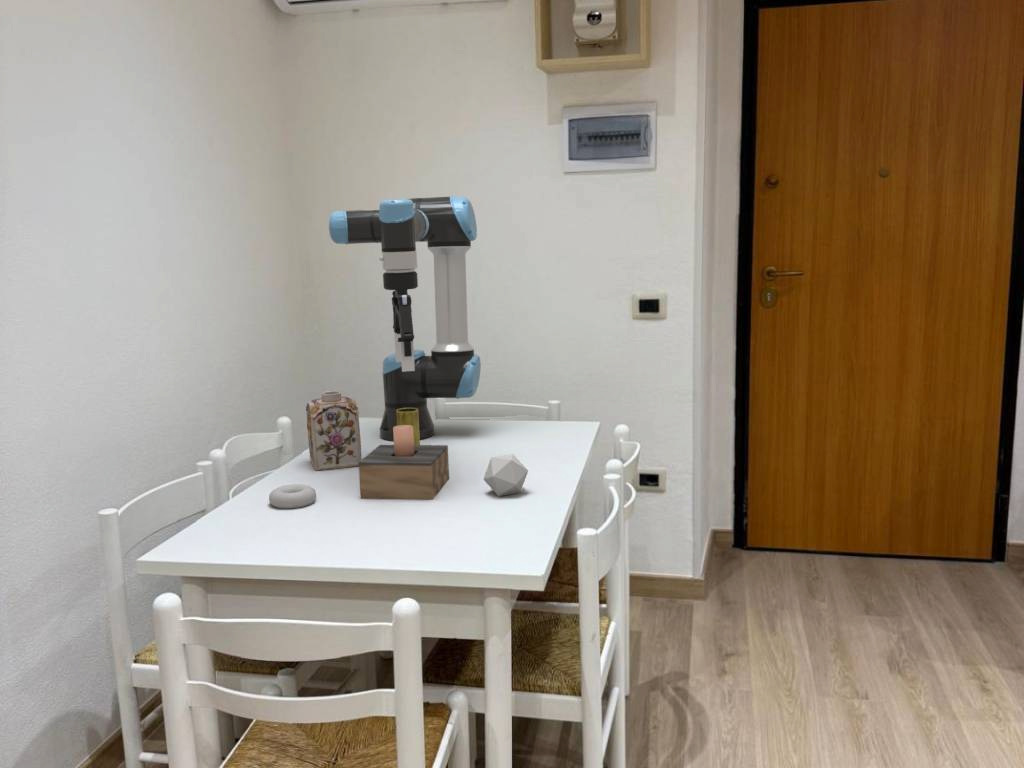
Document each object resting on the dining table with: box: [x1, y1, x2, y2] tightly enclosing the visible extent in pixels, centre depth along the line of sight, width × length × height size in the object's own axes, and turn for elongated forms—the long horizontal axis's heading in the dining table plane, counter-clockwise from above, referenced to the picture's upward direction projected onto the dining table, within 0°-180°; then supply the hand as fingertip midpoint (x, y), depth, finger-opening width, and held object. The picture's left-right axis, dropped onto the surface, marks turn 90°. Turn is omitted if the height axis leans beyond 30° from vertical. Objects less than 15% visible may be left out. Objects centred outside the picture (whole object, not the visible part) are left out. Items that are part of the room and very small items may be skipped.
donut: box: [268, 483, 317, 510], centre depth 206 cm, size 10×4×10 cm
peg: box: [393, 425, 415, 456], centre depth 213 cm, size 4×4×8 cm
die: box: [483, 453, 529, 497], centre depth 208 cm, size 8×9×10 cm
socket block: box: [358, 444, 450, 500], centre depth 214 cm, size 16×16×8 cm
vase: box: [396, 408, 421, 445], centre depth 231 cm, size 6×6×14 cm
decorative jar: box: [305, 390, 362, 472], centre depth 237 cm, size 12×12×18 cm
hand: (405, 366), depth 215 cm, fingers open, 13 cm apart
